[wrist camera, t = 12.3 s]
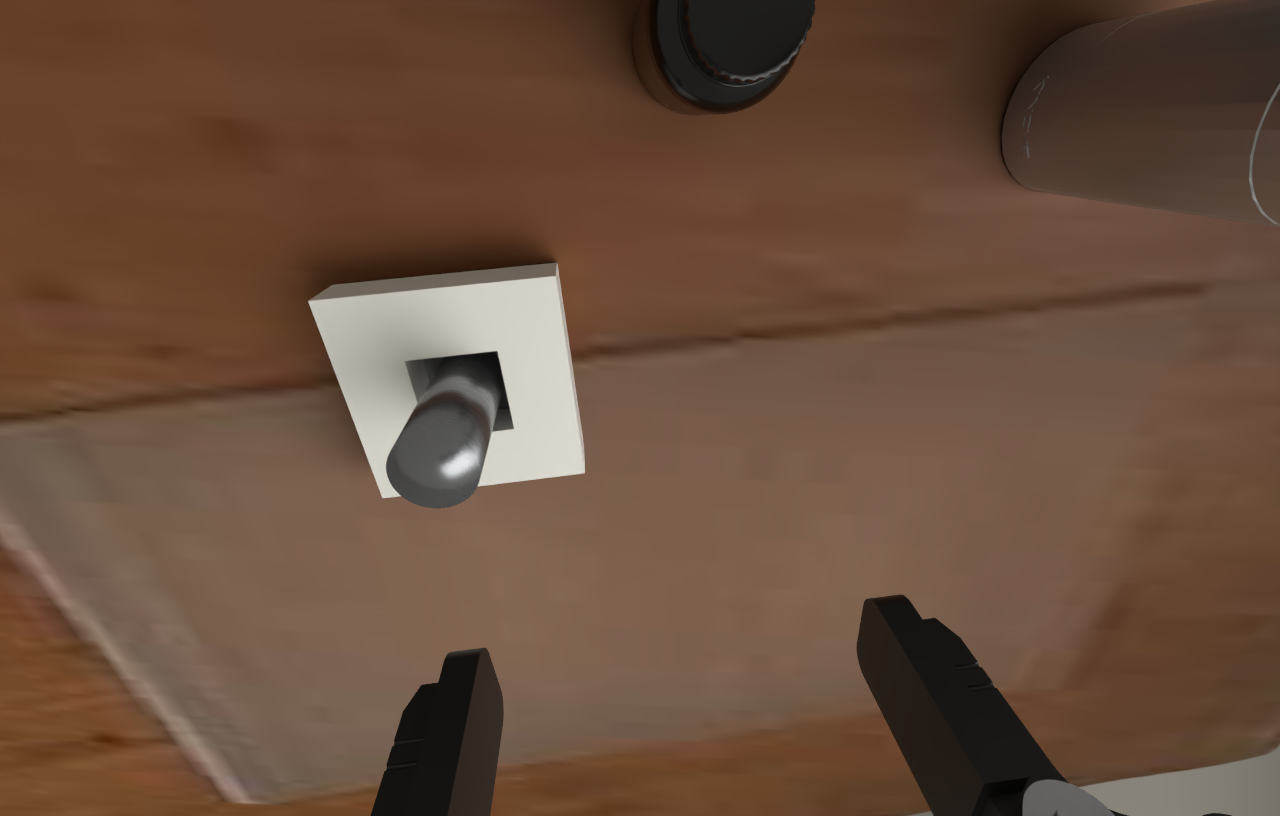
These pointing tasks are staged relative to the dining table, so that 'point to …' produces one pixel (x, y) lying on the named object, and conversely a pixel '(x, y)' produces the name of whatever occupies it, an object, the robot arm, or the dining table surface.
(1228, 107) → the robot arm
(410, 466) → the graphite peg
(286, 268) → the dining table surface
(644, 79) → the supplement bottle
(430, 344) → the socket block
